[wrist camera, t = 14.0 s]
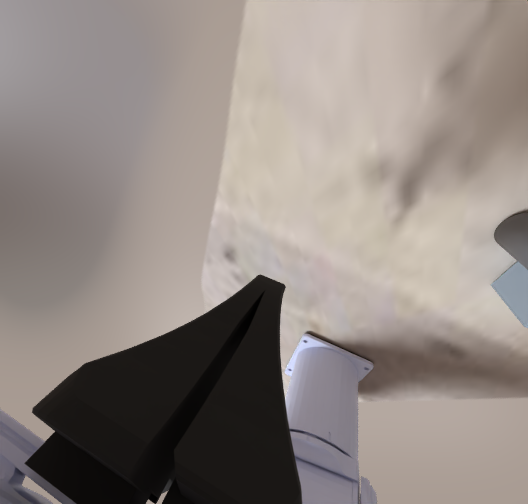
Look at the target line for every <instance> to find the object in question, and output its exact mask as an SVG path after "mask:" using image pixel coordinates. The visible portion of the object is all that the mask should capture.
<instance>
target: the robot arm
mask: <svg viewBox="0 0 528 504" xmlns="http://www.w3.org/2000/svg"><path fill="white" fill-rule="evenodd" d="M285 288H286V287H285V285H284V284H282V283H280V282H277V281H275V280H272V279H270V278H268V277H265V276H263V275H258V276H257V277H256V278H254V279H253V280H252V281H251V282H250V283H249V284H247V285H246V286H245V287H244V288H242V289H241V290H240V291H238V292H237V293H236V294H234V295H233V296H232V297H230V298H229V299H227V300H226V301H224V302H223V303H221V304H220V305H218V306H217V307H215V308H213V309H212V310H210V311H209V312H207V313H205V314H204V315H202V316H200V317H198V318H196V319H195V320H193V321H191V322H189V323H187V324H185V325H183V326H181V327H179V328H177V329H175V330H173V331H170V332H168V333H166V334H164V335H161V336H159V337H157V338H154V339H152V340H149V341H147V342H144V343H142V344H139V345H137V346H134V347H132V348H129V349H127V350H124V351H121V352H118V353H115V354H112V355H109V356H106V357H103V358H100V359H97V360H94V361H91V362H88V363H85V364H84V365H83V366H81V367H80V368H79V369H78V370H76V371H75V372H73V373H72V374H71V375H70V376H68V377H67V378H66V379H65V380H64V381H63V382H62V383H60V384H59V385H58V386H57V387H56V388H55V389H54V390H53V391H51V392H50V393H49V394H48V395H47V396H46V397H45V398H44V399H42V400H41V401H40V402H39V403H38V404H37V405H36V406H35V407H34V408H33V411H32V413H33V414H34V415H36V416H37V417H38V418H39V419H41V420H42V421H43V422H44V423H46V424H47V425H48V426H49V427H51V428H52V429H53V430H55V432H54V433H53V434H52V435H51V436H50V437H49V438H48V439H47V440H46V441H44V440H43V439H41V438H40V437H38V436H37V435H36V434H34V433H33V432H32V431H30V430H29V429H27V428H26V427H25V426H23V425H22V424H20V423H19V422H18V421H16V420H15V419H14V418H12V417H11V416H9V415H8V414H7V413H5V412H4V411H3V410H1V409H0V504H53V503H52V502H51V501H49V500H48V499H47V498H45V497H44V496H42V495H40V494H38V493H36V492H34V491H32V490H30V489H28V488H25V487H23V486H22V482H23V480H24V478H25V475H26V476H28V477H29V478H30V479H31V480H33V481H34V482H35V483H36V484H38V485H39V486H40V487H42V488H43V489H44V490H45V491H47V492H48V493H49V494H50V495H52V496H53V497H54V498H56V499H57V500H58V501H59V502H61V503H62V504H146V502H147V500H148V499H149V500H150V501H152V502H153V503H155V504H156V503H157V501H158V500H159V497H160V496H161V494H162V493H164V492H166V491H168V492H167V494H166V496H165V498H164V500H163V502H162V504H359V501H360V504H377V497H376V492H375V491H374V489H373V487H372V486H371V485H370V482H369V480H368V479H367V478H364V477H361V494H360V500H359V464H358V383H359V382H360V381H361V380H362V379H363V378H364V377H365V376H366V375H367V374H368V373H369V372H370V371H371V370H372V369H373V368H374V367H373V363H372V362H370V361H368V360H366V359H364V358H361V357H359V356H357V355H355V354H352V353H350V352H348V351H346V350H343V349H341V348H339V347H337V346H334V345H332V344H330V343H328V342H325V341H323V340H321V339H319V338H316V337H314V336H312V335H310V334H303V336H302V338H301V340H300V342H299V344H298V346H297V348H296V350H295V352H294V353H293V355H292V357H291V359H290V361H289V363H288V365H287V367H286V369H285V373H286V374H287V375H289V376H291V379H290V383H289V386H288V390H287V394H286V398H285V396H284V389H283V381H282V371H281V358H280V313H281V304H282V298H283V293H284V290H285Z"/></svg>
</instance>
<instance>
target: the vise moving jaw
mask: <svg viewBox="0 0 528 504" xmlns="http://www.w3.org/2000/svg"><path fill="white" fill-rule="evenodd" d="M494 238H495V241H496V242H497V243H498V244H499V245H500V246H501V247H502V248H504V249H505V250H506V251H507V252H508V253H509V254H510V255H511V256H513V257H514V258H515V259H516V260H517V262H516V263H515V264H514V265H513V266H512V267H511V268H509V269H508V270H507V271H506V272H505V273H504V274H503V275H501V276H500V277H499V278H498V279H497V280H496V281H495V282H493V283H492V284H491V286H492V287H493V289H494V290H495V291H496V292H497V294H498V295H499V296H500V297H501V299H502V300H503V301H504V302H505V304H506V305H507V306H508V307H509V309H510V310H511V311H512V312H513V314H514V315H515V316H516V317H517V319H518V320H519V321H520V322H521V324H522V325H523V326H524V327H526V328H528V213H521V214H517V215H514V216H512V217H510V218H508V219H506V220H504V221H503V222H502V223H501V224H500V225H499V226H498V227H497V228H496V230H495V233H494Z"/></svg>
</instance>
